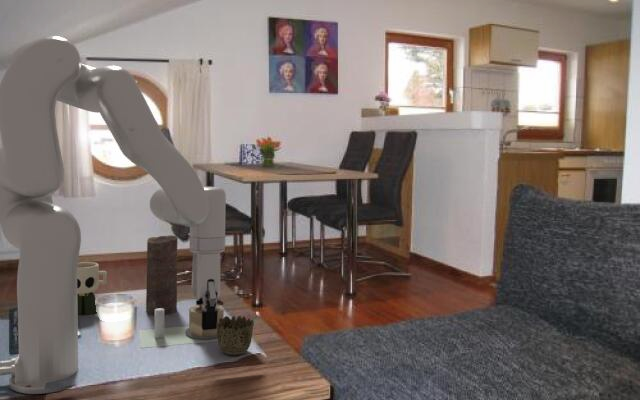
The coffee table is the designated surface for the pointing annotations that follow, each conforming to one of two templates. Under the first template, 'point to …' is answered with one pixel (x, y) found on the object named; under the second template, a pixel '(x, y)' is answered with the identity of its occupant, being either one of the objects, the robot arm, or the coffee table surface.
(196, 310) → the collar
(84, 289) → the character mug
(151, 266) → the brown log
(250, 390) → the coffee table surface
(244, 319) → the fiber plant pot
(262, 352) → the coffee table surface
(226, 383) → the coffee table surface
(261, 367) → the coffee table surface
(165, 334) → the hub board
